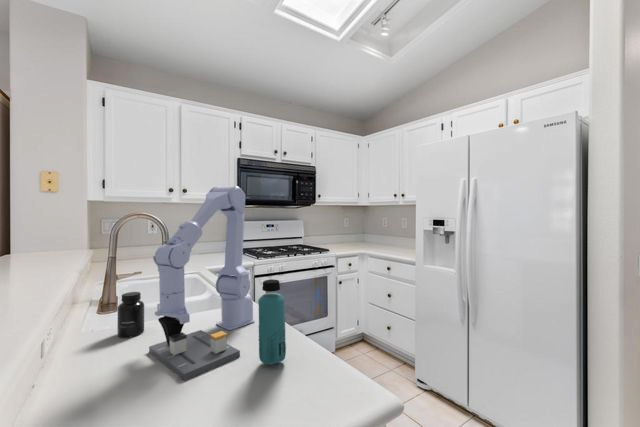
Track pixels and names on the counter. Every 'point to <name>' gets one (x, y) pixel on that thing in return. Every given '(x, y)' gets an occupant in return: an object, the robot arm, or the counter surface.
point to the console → (193, 355)
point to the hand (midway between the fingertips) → (173, 344)
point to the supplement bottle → (130, 315)
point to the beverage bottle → (271, 324)
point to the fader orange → (218, 342)
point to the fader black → (177, 343)
